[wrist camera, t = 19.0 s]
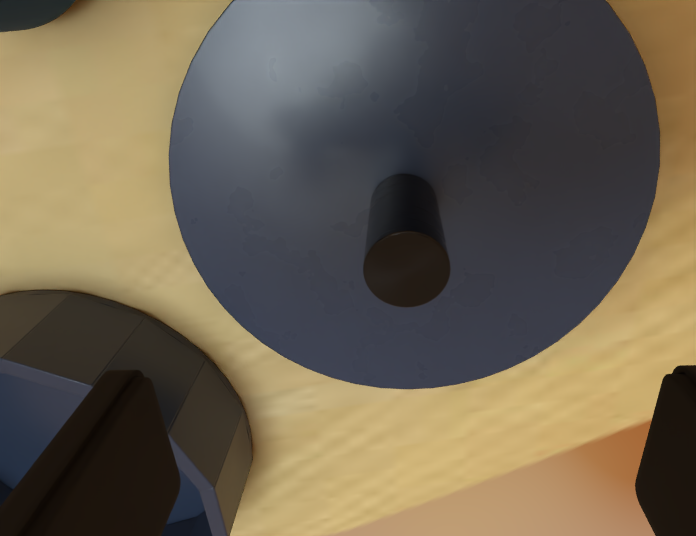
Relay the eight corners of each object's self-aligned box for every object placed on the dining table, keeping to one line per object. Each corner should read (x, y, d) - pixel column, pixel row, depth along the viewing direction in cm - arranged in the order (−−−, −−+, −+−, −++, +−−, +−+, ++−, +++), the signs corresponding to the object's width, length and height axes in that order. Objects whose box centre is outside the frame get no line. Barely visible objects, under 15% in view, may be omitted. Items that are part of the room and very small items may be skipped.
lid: (705, -104, 14) (883, -160, 9) (603, 374, 22) (667, 492, 17) (125, -53, 16) (-5, -76, 11) (222, 374, 24) (175, 480, 19)
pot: (220, 286, 22) (178, 358, 18) (272, 532, 30) (251, 625, 25) (-126, 292, 24) (-242, 359, 19) (8, 524, 31) (-54, 609, 27)
